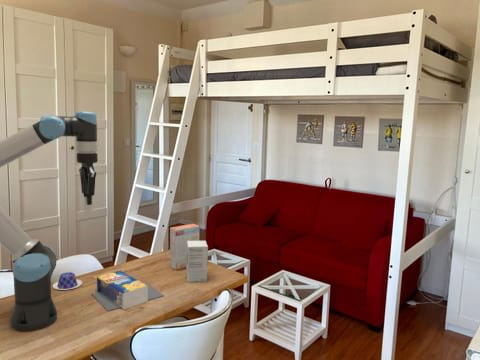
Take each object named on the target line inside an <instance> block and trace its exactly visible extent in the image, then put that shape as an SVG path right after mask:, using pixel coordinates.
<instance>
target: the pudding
mask: <svg viewBox="0 0 480 360" xmlns="http://www.w3.org/2000/svg"><path fill="white" fill-rule="evenodd" d="M82 284H83V281H82V280H80V279H77V278H76V275H75V273H73V272H72V271H70V272H63V273H62V274H60V275H59V278H58V281H56V282H54V283H53V284H52V288H53V289H55V290H61V291H67V290H73V289H76V288H78V287H80V286H82ZM59 288H60V289H59Z"/></svg>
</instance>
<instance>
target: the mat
mask: <svg viewBox="0 0 480 360" xmlns="http://www.w3.org/2000/svg"><path fill="white" fill-rule="evenodd" d="M141 282H142V283H144V284H146V285H148V301H151V300H154V299H155V300H156V299H159V298H162V297H165V295H164V294H163V293H161V292H160V291H159V290H158V289H156V288H155V287H153V285H151V284H150V283H148V282H147V281H141ZM91 296H92V297H93V298H94V299H95V300H96V301H97V302H98V303H99V304H100V305H101V306H102V307H103V308H104V309H105V311H106V312H110V311H114V310H119V309H122V308H121V306H119V305H118V304H116V303H115V302H113V301H112V300H110V299H109V298H108V297H106V296H105V295H103V294H102V293H100V292H94V293H91Z"/></svg>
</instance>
